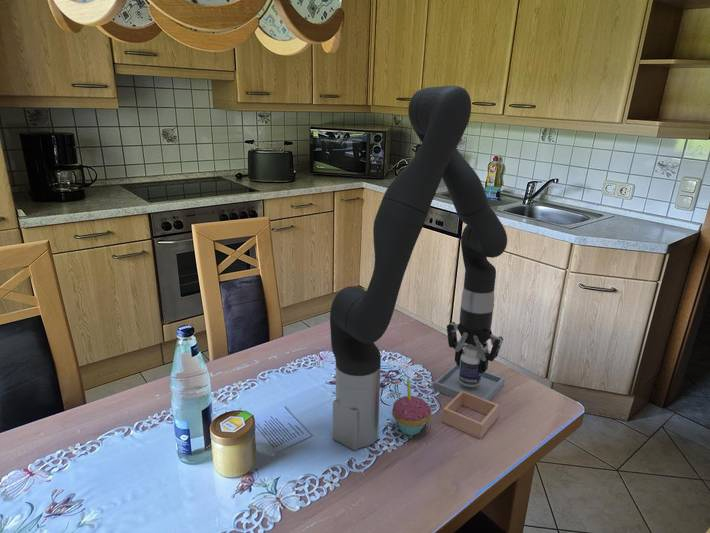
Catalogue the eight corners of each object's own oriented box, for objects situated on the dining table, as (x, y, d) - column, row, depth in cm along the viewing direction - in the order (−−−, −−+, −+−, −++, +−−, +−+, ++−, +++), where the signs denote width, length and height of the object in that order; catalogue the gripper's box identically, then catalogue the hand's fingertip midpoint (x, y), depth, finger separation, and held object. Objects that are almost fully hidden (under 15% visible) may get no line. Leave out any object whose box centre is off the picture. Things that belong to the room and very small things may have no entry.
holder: (480, 438, 103) (482, 425, 102) (442, 421, 109) (443, 408, 108) (497, 418, 110) (499, 404, 109) (460, 402, 116) (461, 390, 115)
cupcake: (384, 422, 108) (385, 376, 104) (415, 412, 112) (418, 367, 108) (405, 445, 101) (407, 396, 97) (438, 434, 105) (441, 386, 101)
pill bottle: (482, 387, 119) (486, 352, 116) (460, 387, 119) (463, 352, 116) (477, 376, 124) (481, 342, 121) (456, 375, 124) (459, 341, 121)
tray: (482, 409, 113) (483, 401, 113) (433, 389, 121) (434, 382, 120) (503, 385, 123) (504, 378, 122) (457, 368, 131) (457, 361, 130)
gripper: (442, 302, 116) (437, 364, 121) (499, 319, 108) (491, 384, 113) (456, 293, 122) (451, 353, 127) (512, 308, 113) (504, 371, 119)
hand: (470, 367), depth 120 cm, fingers closed on pill bottle, 5 cm apart
